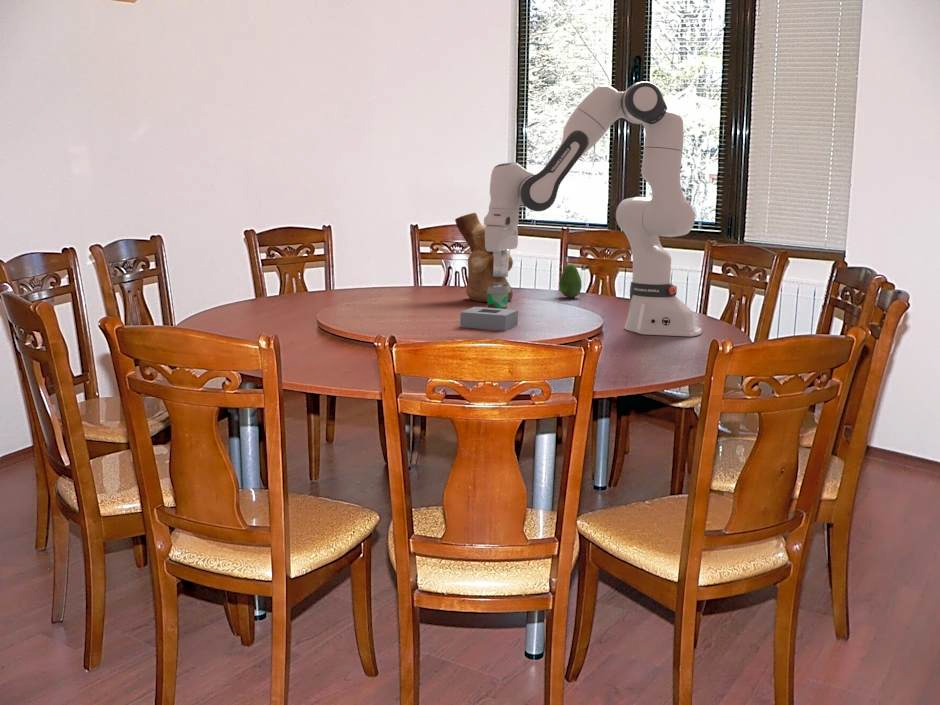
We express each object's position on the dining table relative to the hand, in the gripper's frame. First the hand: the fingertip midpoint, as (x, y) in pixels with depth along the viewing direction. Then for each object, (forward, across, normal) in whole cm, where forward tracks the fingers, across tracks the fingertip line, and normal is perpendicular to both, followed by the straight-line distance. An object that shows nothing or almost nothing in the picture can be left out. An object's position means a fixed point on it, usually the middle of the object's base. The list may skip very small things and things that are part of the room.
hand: (501, 265), depth 316 cm
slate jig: (+18, 0, -3) cm, 19 cm away
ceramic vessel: (+17, -51, -23) cm, 59 cm away
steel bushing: (+3, 0, 0) cm, 3 cm away
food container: (+18, -19, -6) cm, 27 cm away
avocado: (+16, -71, +3) cm, 73 cm away
